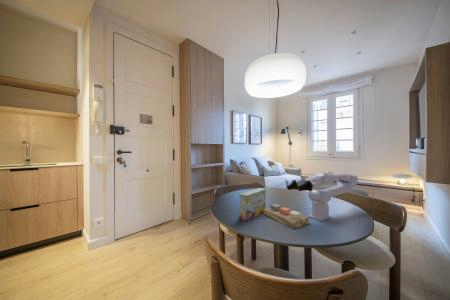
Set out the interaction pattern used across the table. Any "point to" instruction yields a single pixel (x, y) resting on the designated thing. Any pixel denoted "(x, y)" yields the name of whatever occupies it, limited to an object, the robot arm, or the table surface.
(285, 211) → the terracotta key
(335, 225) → the table surface
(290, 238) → the table surface
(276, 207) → the slate key
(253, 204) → the snack box
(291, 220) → the key console
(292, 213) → the cream key
